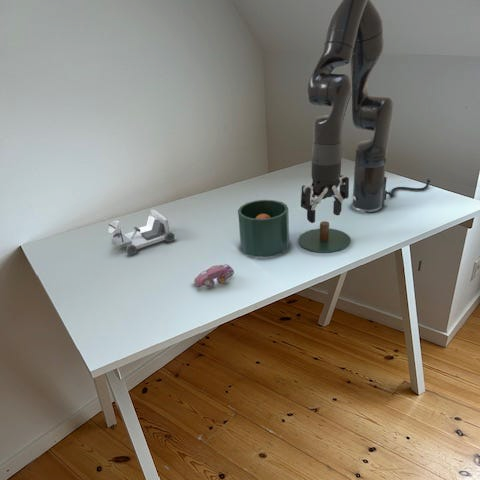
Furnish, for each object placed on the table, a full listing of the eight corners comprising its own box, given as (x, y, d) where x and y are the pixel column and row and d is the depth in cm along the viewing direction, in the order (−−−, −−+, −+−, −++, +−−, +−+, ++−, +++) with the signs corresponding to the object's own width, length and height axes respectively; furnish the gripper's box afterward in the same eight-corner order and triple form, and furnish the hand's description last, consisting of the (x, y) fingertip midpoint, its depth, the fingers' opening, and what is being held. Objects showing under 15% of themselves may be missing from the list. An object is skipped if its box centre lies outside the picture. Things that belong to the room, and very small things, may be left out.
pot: (272, 232, 147) (270, 196, 140) (297, 249, 137) (297, 211, 130) (232, 244, 142) (229, 207, 136) (256, 263, 132) (254, 224, 126)
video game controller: (199, 296, 124) (201, 280, 118) (192, 282, 125) (194, 266, 119) (234, 284, 127) (237, 269, 121) (226, 271, 129) (229, 255, 123)
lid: (328, 227, 147) (329, 208, 144) (360, 245, 136) (362, 225, 133) (288, 240, 142) (288, 221, 138) (318, 260, 131) (319, 239, 128)
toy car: (112, 228, 134) (97, 215, 142) (119, 259, 140) (105, 245, 148) (170, 210, 142) (153, 198, 150) (175, 240, 147) (158, 228, 155)
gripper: (312, 168, 120) (311, 229, 129) (357, 157, 125) (353, 216, 134) (295, 161, 125) (295, 220, 135) (339, 150, 131) (336, 207, 140)
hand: (324, 218), depth 135 cm, fingers open, 8 cm apart
